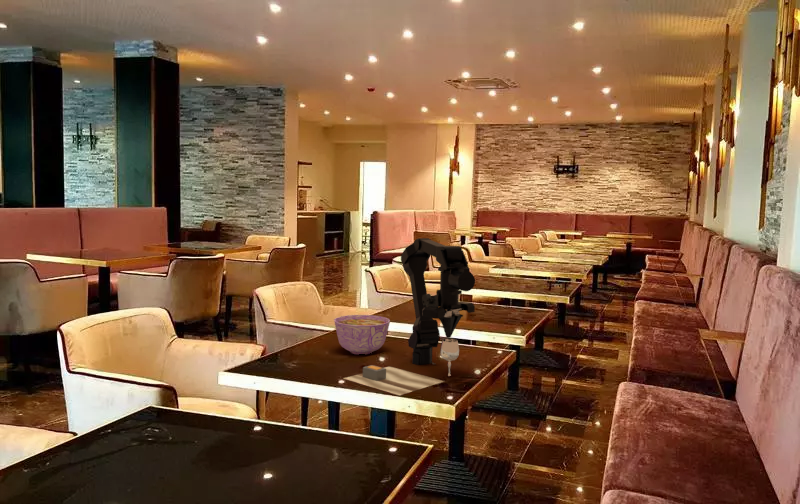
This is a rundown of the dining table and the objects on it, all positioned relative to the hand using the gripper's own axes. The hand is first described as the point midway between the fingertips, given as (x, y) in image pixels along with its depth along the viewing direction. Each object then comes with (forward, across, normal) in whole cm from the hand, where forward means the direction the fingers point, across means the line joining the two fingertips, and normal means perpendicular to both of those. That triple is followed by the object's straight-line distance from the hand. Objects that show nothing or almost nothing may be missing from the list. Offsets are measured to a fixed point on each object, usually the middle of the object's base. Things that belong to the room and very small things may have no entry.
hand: (448, 337), depth 201 cm
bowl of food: (+13, -4, -43) cm, 45 cm away
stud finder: (+12, +18, -13) cm, 26 cm away
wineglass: (+13, -1, 0) cm, 13 cm away
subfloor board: (+13, +16, -8) cm, 22 cm away
